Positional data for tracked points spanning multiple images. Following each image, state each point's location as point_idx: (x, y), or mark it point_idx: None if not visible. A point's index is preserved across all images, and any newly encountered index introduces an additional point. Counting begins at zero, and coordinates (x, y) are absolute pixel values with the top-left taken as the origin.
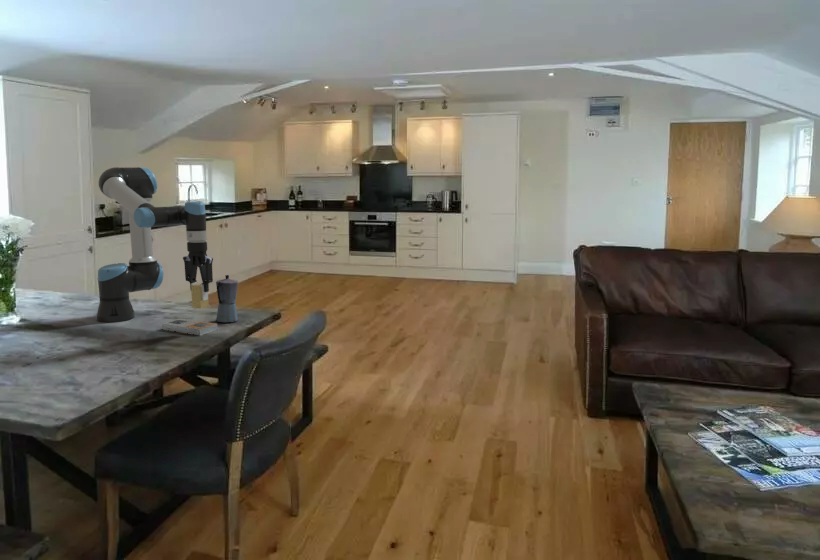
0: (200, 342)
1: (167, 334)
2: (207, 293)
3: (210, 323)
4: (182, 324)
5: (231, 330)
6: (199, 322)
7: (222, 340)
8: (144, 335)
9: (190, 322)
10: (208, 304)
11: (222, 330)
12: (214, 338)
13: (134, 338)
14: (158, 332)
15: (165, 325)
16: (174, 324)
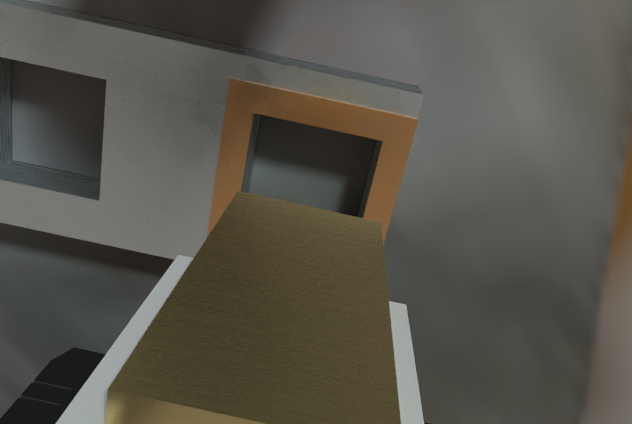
0: (453, 410)
1: (124, 297)
2: (411, 372)
3: (362, 117)
4: (133, 196)
5: (551, 72)
6: (241, 111)
7: (585, 345)
8: (3, 348)
9: (152, 116)
10: (381, 233)
11: (470, 94)
12: (506, 315)
13: (4, 413)
14: (27, 267)
15: (4, 217)
16: (72, 213)
